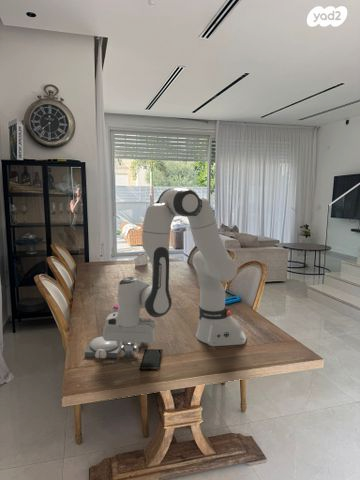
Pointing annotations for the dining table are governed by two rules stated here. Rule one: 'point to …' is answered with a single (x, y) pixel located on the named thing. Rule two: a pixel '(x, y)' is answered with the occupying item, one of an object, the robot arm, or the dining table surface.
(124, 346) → the cylinder
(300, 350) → the dining table surface
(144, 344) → the cylinder
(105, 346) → the scale
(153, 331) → the robot arm
